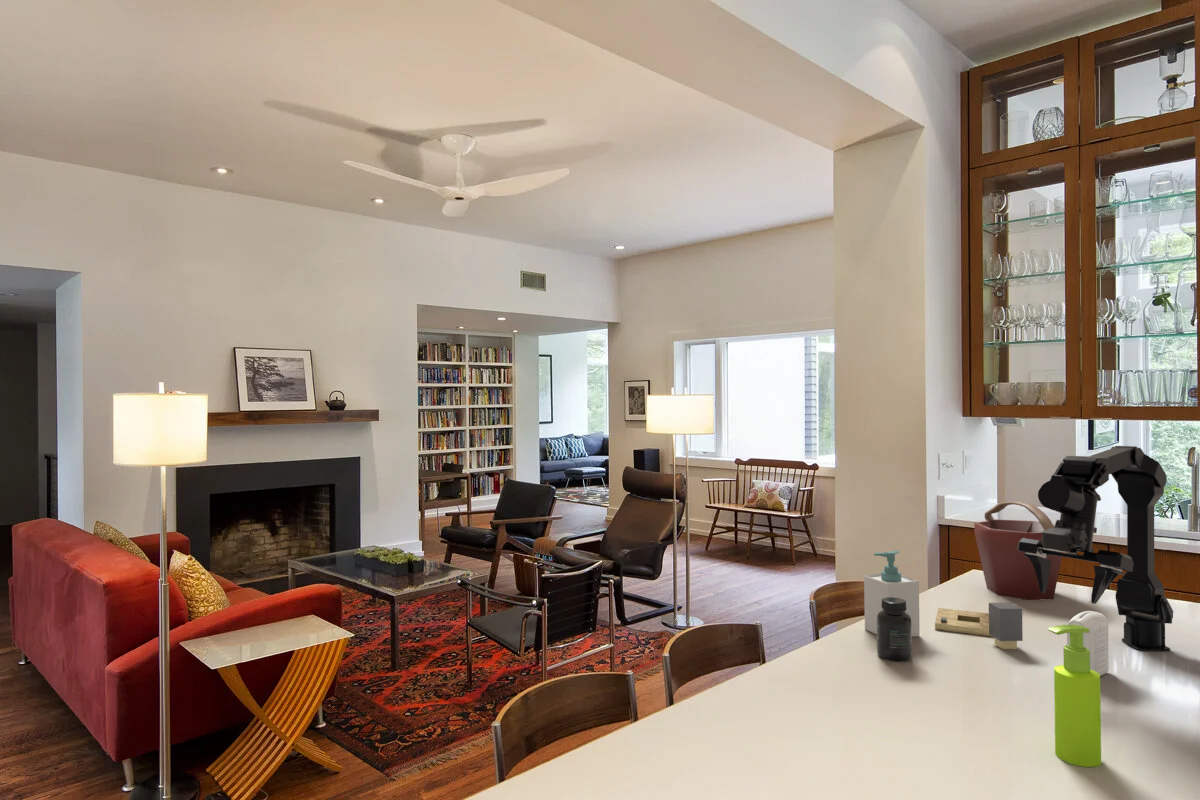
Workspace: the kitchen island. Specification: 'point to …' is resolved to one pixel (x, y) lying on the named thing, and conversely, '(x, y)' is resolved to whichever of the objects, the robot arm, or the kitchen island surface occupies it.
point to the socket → (962, 621)
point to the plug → (1005, 624)
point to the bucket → (1013, 554)
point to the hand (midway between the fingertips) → (1067, 598)
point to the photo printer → (1094, 639)
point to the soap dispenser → (1077, 702)
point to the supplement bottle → (894, 631)
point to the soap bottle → (890, 593)
